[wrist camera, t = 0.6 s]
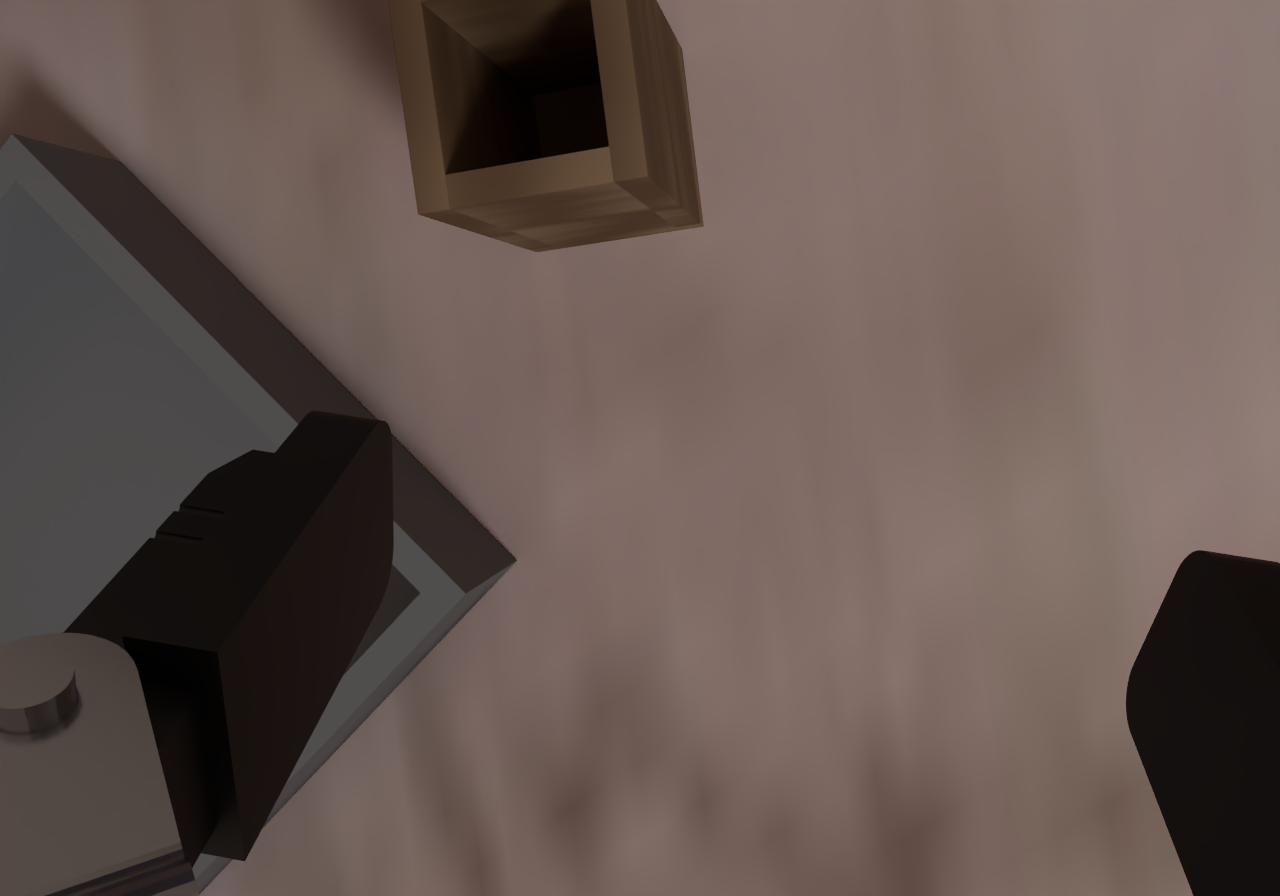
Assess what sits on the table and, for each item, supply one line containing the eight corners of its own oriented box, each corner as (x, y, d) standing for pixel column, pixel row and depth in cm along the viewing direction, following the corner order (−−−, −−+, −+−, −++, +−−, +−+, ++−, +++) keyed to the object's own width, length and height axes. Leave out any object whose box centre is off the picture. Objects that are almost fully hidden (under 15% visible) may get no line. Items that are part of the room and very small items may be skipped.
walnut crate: (681, 49, 33) (616, -77, 23) (703, 226, 34) (647, 175, 24) (514, 80, 34) (384, -27, 25) (537, 252, 35) (418, 213, 25)
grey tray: (120, 162, 37) (11, 133, 32) (516, 560, 36) (465, 593, 31) (-202, 585, 42) (-342, 617, 37) (140, 956, 40) (43, 1040, 35)
